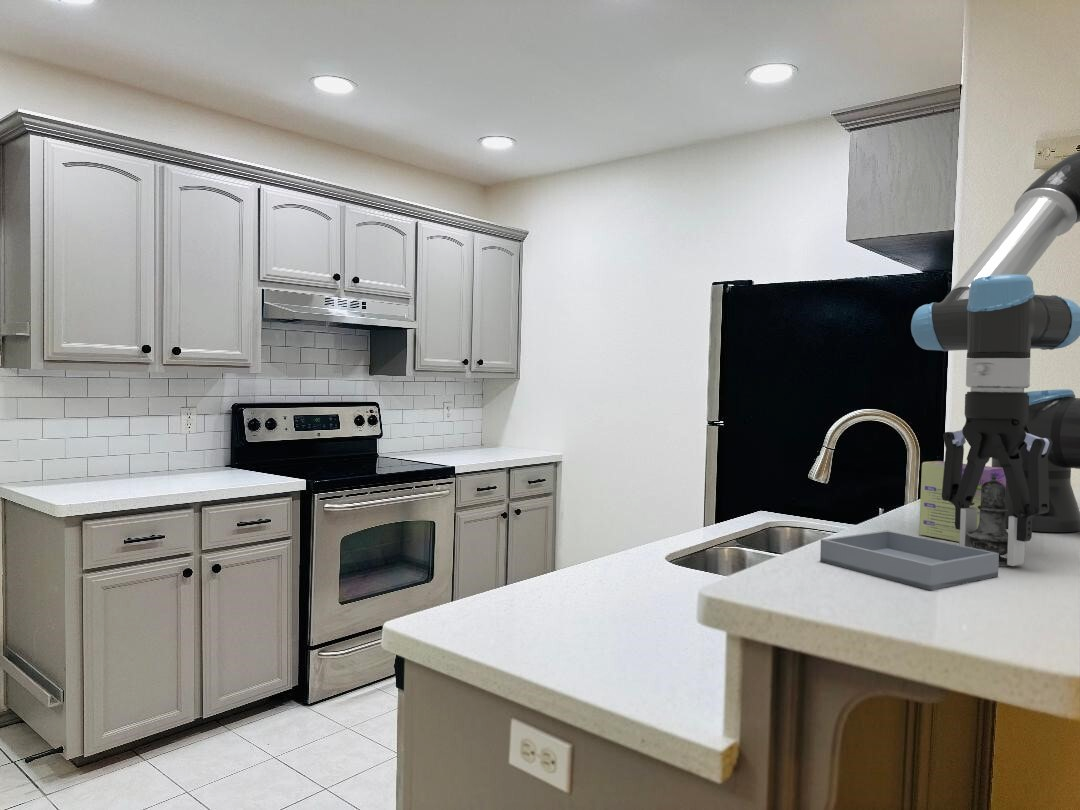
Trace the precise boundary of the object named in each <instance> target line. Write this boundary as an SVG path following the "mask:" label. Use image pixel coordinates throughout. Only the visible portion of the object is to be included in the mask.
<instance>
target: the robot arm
mask: <svg viewBox="0 0 1080 810" xmlns="http://www.w3.org/2000/svg"><path fill="white" fill-rule="evenodd" d="M1079 222H1080V151H1077V152H1074V153H1072V154H1070V155H1068V156H1067V157H1065V158H1064V159H1063V160H1061V161H1059V162H1057V163H1056V164H1055V165H1053V166H1051V168H1049V169H1047V170H1046V171H1045V172H1044V173H1043V174H1041V175H1040V176H1039V177H1037V179H1036V180H1035V181H1033V182H1032V183H1031V184H1030V185H1029V186H1028V187H1027V188H1026V189H1025V190H1024V192H1022V193H1021V195H1020V197H1018V199H1017V200H1016V202H1015V204H1014V209H1013V214H1012V215H1011V217H1010V218H1009V220H1008V221H1007V222H1006V223H1005V224H1004V226H1002V228H1001V229H1000V230H999V231H998V233H997V234H996V235H995V237H994V238H993V239H992V240H991V241H990V242H989V244H988V245H987V246H986V247H985V249H984V250H983V251H982V252H981V254H980V255H979V256H978V257H977V258H976V260H975V261H974V262H973V263H972V265H971V266H970V267H969V268H968V270H967V271H965V273H964V274H963V276H962V277H961V278H960V280H959V281H958V282H957V283H956V284H955V285H954V286H953V288H952V289H951V290H950V292H948V294H947V295H946V296H945V298H944V299H943V300H942V301H940V302H937V301H935V302H931V303H929V304H928V303H926V304H923V305H921V306H919V307H918V308H917V309H915V311H914V313H913V315H912V318H911V323H910V331H911V336H912V337H913V340H914V342H915V344H916V345H917V346H918V347H919V348H921V349H923V350H927V351H942V352H949V351H950V352H951V351H966V352H967V353H966V362H965V363H966V365H965V366H966V367H965V369H966V370H965V386H966V387H967V388H970V391H967V392H966V393H965V395H964V417H965V423H964V425H963V427H962V429H960V430H957V431H946V432H944V433H942V438H943V442H944V446H945V454H944V455H945V456H944V462H945V464H944V475H943V487H942V499H943V500H945V501H949V502H951V503H952V504H954V506H955V527H956V529H959V530H960V542H959V545H961V546H966V547H971V548H973V547H972V546H971V543H970V537H969V536H968V535H967V533H968V532H973V531H975V530H976V529H977V508H975V507H970V506H972V505H974V504H975V503H973V502H972V501H973V498H974V496H975V493H976V490H977V487H978V484H979V482H980V479H981V476H982V473H983V470H984V467H985V466H986V464H987V463H989V461H990V459H991V467H999V468H1003V470H1004V474H1005V478H1006V492H1005V507H1006V508H1007V509H1008V511H1006V512H1005V527H1006V529H1008V530H1007V532H1008V551H1007V554H1006V556H1007V557H1006V558H1007V565H1010V566H1009V567H1014V566H1019V565H1025V547H1026V546H1025V545H1026V542H1029V541H1031V539H1032V536H1033V535H1032V534H1033V533H1032V532H1041V533H1042V532H1043V533H1070V532H1071V533H1072V532H1073V533H1074V532H1078V531H1080V508H1079V504H1078V502H1077V500H1076V496H1075V493H1074V489H1073V487H1072V483H1071V482H1072V481H1071V476H1072V469H1076V470H1080V397H1076V394H1075V392H1074V391H1073V390H1072V389H1068V388H1067V389H1065V388H1064V389H1048V390H1047V389H1046V390H1034V391H1030V390H1029V391H1025V389H1028V388H1030V386H1031V350H1032V349H1033V350H1034V349H1036V350H1037V349H1038V350H1050V351H1052V350H1055V349H1062V348H1066V347H1067V346H1070V345H1072V344H1073V343H1075V342H1076V341H1077V340H1078V339H1079V338H1080V306H1079V305H1078V303H1076V302H1075V301H1073V300H1071V299H1069V298H1065V297H1062V296H1059V295H1057V294H1051V295H1045V294H1044V295H1043V294H1035V290H1034V282H1033V281H1034V280H1033V279H1032V278H1031V277H1030V276H1029V275H1028V274H1029V273H1030V271H1031V270H1032V268H1034V266H1035V265H1036V264H1037V262H1038V261H1039V260H1040V259H1041V257H1042V256H1043V255H1044V253H1045V252H1046V251H1048V249H1049V247H1050V246H1051V245H1052V244H1053V242H1054V240H1056V239H1057V237H1060V236H1062V235H1064V234H1066V233H1068V232H1069V231H1070V230H1071V229H1073V227H1074V225H1075V224H1076V223H1079ZM966 442H967V443H968V445H969V447H970V448H969V449H968V450H969V451H968V452H967V456H966V461H967V463H966V464H967V465H966V467H965V470H964V473H963V476H962V466H963V464H964V453H965V451H964V450H965V448H964V447H965V444H966ZM961 477H962V479H961Z"/></svg>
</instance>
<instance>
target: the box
mask: <svg viewBox="0 0 1080 810" xmlns="http://www.w3.org/2000/svg"><path fill="white" fill-rule="evenodd" d="M944 464H945V460H943V461H942V460H933V461H932V460H931V461H923V462H922V463H921V479H920V481H921V482H920V500H919V503H920V504H919V520H918V521H919V522H918V528H919V530H918V534H919V536H927V537H931V538H932V537H933V538H938V539H943V540H948V541H952V542H957V543H960V530H959V529H956V527H955V506H954V504H952V503H951V502H949V501H945V500H943V499H942V487H943V475H944ZM966 465H967V463H963V466H962V476H963V473H964V470H965V467H966ZM993 475H995V476H996V481H998V482H999V483H1002V484H1003V485H1004V486H1005V489H1006V478H1005V474H1004V470H1003V468H999V467H992V466H990V465H989V466H988V465H987V466H986V465H985V467H984V470H983V473H982V476H981V479H980V482H979V484H978V487H977V490H976V493H975V496H974V498H973V501H972V502H973V503H975V504H974V505H972V506H970V507H975V508H977V507H978V506H980V505H981V487H982V485H983V484H984V483H985V482H989V481H990V480H992V478H991V477H992V476H993ZM961 479H962V477H961ZM1005 492H1006V490H1005ZM979 522H980V509H978V508H977V528H978V525H979Z"/></svg>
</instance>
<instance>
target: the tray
mask: <svg viewBox="0 0 1080 810" xmlns="http://www.w3.org/2000/svg"><path fill="white" fill-rule="evenodd" d="M819 553H820V555H819V556H820V558H819V559H820V560H819V562H821V563H826V564H828V565H832V566H836V567H840V568H843V569H847V570H852V571H855V572H859V573H863V574H866V575H869V576H874V577H877V578H881V579H885V580H889V581H892V582H895V583H896V582H897V583H900V584H903V585H907V586H911V587H915V588H919V589H922V590H925V591H936V590H940V589H945V588H946V589H947V588H950V587H955V586H959V584H960V585H964V584H963V583H965V584H967V583H966V582H970V583H973V582H972V581H975V582H978V581H977V580H980V581H983V580H982V579H984V580H987V579H988V578H989V579H992V577H994V578H998V577H999V566H998V565H999V553H995V552H990V551H985V550H981V549H976V548H971V547H966V546H961V545H960V544H956V543H950V542H946V541H941V540H937V539H930V538H926V537H920V536H916V535H911V534H908V533H901V532H896V531H892V530H882V531H881V530H880V531H874V532H873V531H872V532H867V533H858V534H851V535H845V536H844V535H843V536H836V537H831V538H822V539H820V552H819ZM989 579H988V580H989Z"/></svg>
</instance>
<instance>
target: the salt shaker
mask: <svg viewBox="0 0 1080 810" xmlns="http://www.w3.org/2000/svg"><path fill="white" fill-rule="evenodd" d="M991 478H992V480H990V481H989V482H985V483H984V484H983V485H982V487H981V505H980V506H978V507H977V508H978V509H980V522H979V525H978V528H977V529H976V530H975V531H973V532H968V533H967V535H968V536H969V537H970V543H971V546H972V547H973V548H976V549H981V550H985V551H990V552H995V553H999V565H998V567H1011V566H1010V565H1007V557H1003V556H1005V555H1006V556H1007V551H1008V530H1007V528H1006V527H1005V512H1006V511H1008V509H1007V508H1006V507H1005V490H1006V489H1005V486H1004V485H1003V484H1002V483H999V482H998V481H996V476H995V475H993V476H992V477H991Z"/></svg>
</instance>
